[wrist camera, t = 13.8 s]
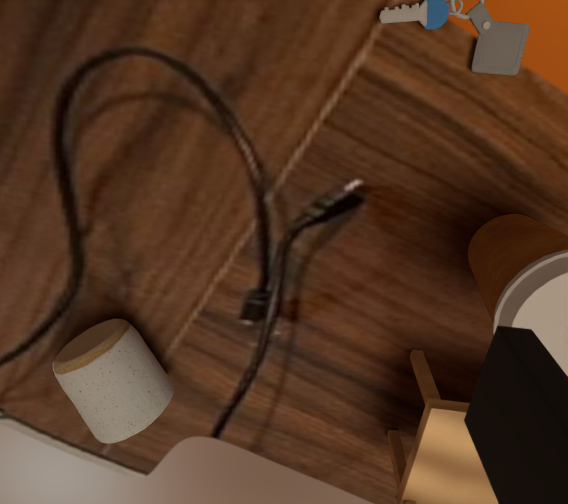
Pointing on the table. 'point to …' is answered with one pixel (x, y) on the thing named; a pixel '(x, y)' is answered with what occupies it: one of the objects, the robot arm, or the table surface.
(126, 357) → the ceramic mug
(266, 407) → the table surface
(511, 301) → the disposable coffee cup
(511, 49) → the key chain
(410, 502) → the chair
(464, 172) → the table surface
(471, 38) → the table surface
